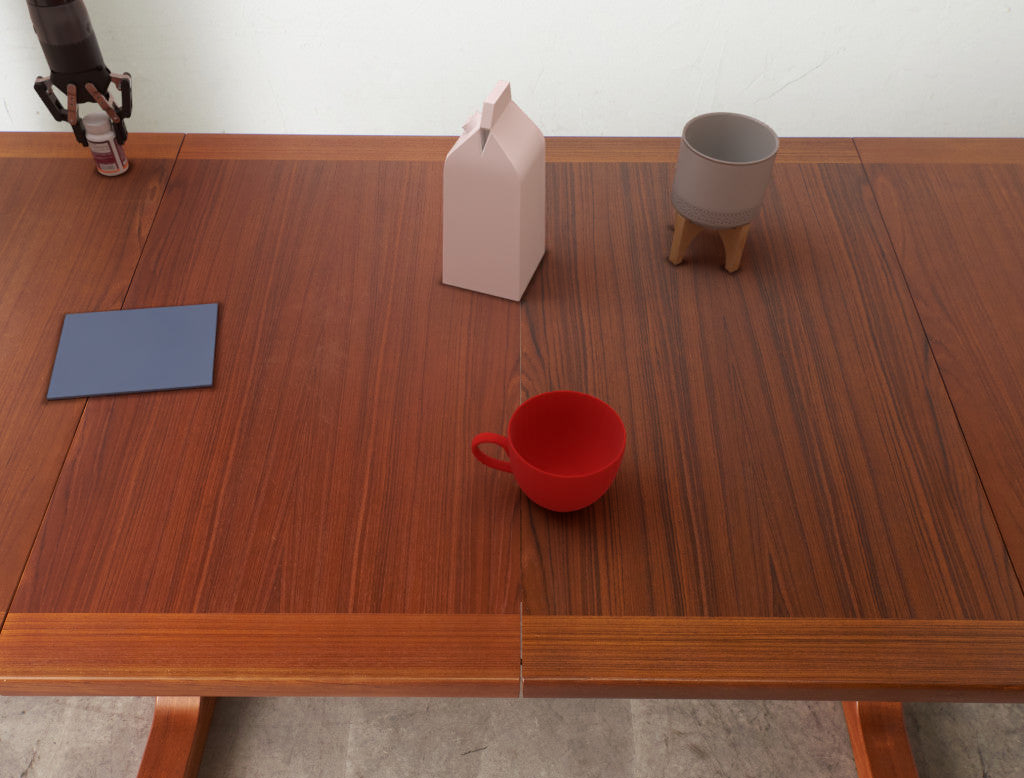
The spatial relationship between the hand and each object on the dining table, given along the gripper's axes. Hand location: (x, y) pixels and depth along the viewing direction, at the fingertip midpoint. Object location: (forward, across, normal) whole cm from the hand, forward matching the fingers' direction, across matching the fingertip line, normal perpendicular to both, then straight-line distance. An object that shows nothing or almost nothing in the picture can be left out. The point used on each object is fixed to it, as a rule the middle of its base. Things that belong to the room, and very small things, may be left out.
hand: (104, 142), depth 140 cm
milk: (+5, -57, +32) cm, 66 cm away
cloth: (+4, -8, +44) cm, 45 cm away
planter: (+5, -89, +31) cm, 94 cm away
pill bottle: (+5, 0, 0) cm, 5 cm away
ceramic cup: (+5, -57, +74) cm, 94 cm away
